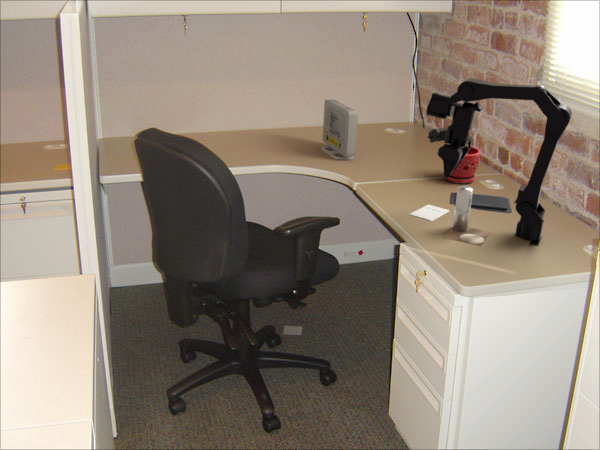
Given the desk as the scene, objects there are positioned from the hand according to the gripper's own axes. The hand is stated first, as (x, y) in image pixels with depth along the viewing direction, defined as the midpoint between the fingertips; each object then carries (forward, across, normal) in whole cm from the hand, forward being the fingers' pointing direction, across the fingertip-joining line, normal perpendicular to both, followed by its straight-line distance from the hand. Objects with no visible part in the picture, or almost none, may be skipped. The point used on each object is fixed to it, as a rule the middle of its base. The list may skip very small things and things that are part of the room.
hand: (449, 173), depth 191 cm
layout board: (+15, +8, +10) cm, 20 cm away
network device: (+22, -54, -57) cm, 82 cm away
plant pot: (+17, -45, -4) cm, 48 cm away
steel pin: (+14, +5, +8) cm, 17 cm away
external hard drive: (+17, -4, -4) cm, 18 cm away
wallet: (+16, -25, +8) cm, 31 cm away
